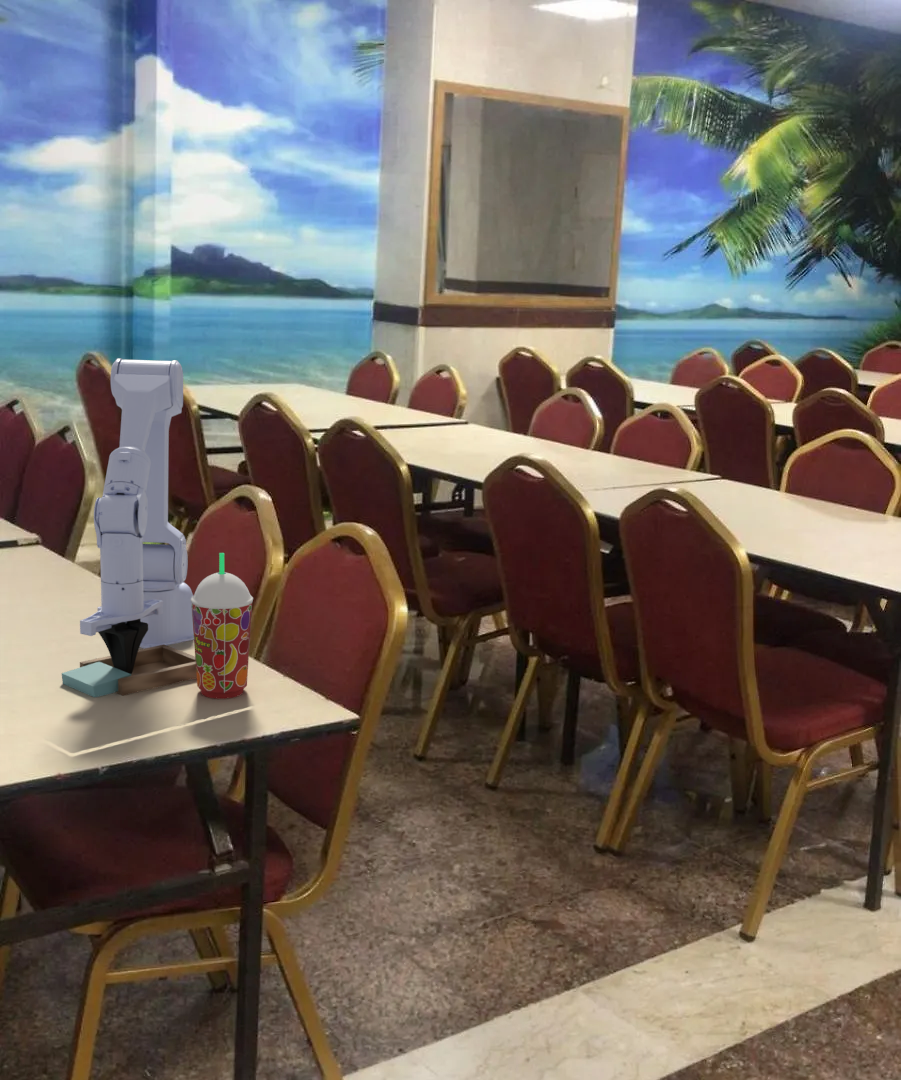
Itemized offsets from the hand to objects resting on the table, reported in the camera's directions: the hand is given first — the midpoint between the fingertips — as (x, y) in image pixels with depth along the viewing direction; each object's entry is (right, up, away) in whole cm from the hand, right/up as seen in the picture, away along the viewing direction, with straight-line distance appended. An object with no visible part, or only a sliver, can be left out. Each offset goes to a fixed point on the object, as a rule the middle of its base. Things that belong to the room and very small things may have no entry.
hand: (123, 673), depth 187 cm
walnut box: (+2, -1, +2) cm, 3 cm away
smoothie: (+14, -3, -3) cm, 15 cm away
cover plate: (-3, -1, -2) cm, 4 cm away
